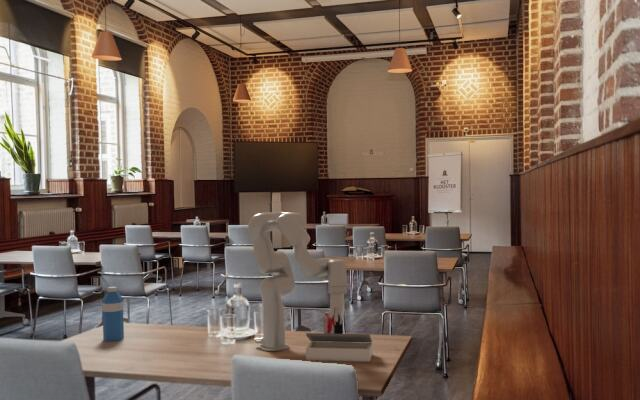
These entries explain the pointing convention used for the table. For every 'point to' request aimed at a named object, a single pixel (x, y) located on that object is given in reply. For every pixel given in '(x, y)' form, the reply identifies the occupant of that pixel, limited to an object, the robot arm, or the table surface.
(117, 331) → the water bottle
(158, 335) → the table surface
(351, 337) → the lid
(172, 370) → the table surface
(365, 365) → the table surface
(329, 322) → the soda can
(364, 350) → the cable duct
